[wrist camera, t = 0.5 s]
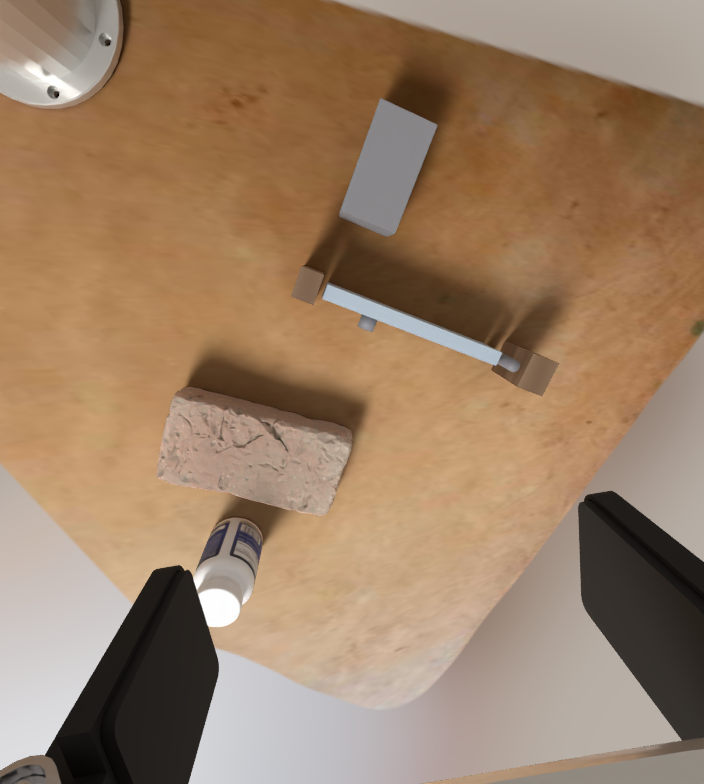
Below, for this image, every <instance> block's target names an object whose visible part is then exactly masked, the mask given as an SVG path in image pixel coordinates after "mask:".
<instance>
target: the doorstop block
mask: <svg viewBox="0 0 704 784" xmlns="http://www.w3.org/2000/svg"><path fill="white" fill-rule="evenodd" d="M436 128H437V124H435V123H433V122H430V121H428V120H426V119H424V118H422V117H420V116H418V115H416V114H413V113H411V112H409V111H407V110H405V109H403V108H401V107H398V106H396V105H394V104H392V103H390V102H388V101H386V100H384V99H381V98H380V101H379V104H378V107H377V109H376V112H375V115H374V118H373V120H372V123H371V126H370V129H369V132H368V134H367V137H366V140H365V143H364V146H363V148H362V151H361V154H360V157H359V160H358V162H357V165H356V168H355V171H354V174H353V176H352V179H351V182H350V185H349V188H348V190H347V193H346V196H345V199H344V202H343V204H342V207H341V210H340V213H339V217H340V218H343V219H345V220H348V221H350V222H352V223H355V224H357V225H360V226H362V227H364V228H367V229H369V230H371V231H374V232H376V233H379V234H381V235H383V236H386V237H388V236H391V235H393V234H395V233H396V230H397V228H398V225H399V223H400V220H401V217H402V215H403V212H404V210H405V207H406V205H407V202H408V199H409V197H410V194H411V192H412V189H413V187H414V184H415V182H416V179H417V176H418V174H419V171H420V169H421V166H422V164H423V161H424V159H425V156H426V153H427V151H428V148H429V146H430V143H431V141H432V138H433V136H434V133H435V130H436Z"/></svg>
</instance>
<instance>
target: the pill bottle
mask: <svg viewBox="0 0 704 784" xmlns="http://www.w3.org/2000/svg"><path fill="white" fill-rule="evenodd" d="M262 544H263V538H262V534H261V531H260V530H259V528H258V527H257V526H256V525H255V524H254V523H253V522H251V521H249V520H247V519H244V518H229V519H226V520H223V521H221V522H220V523H218V524H217V525H216V526H215V527H214V529H213V530H212V532H211V534H210V537H209V539H208V541H207V544H206V547H205V549H204V551H203V554H202V556H201V559H200V562H199V564H198V566H197V569H196V572H195V575H194V578H193V580H194V583H195V586H196V589H197V593H198V596H199V599H200V602H201V606H202V609H203V612H204V615H205V619H206V622H207V625H208V626H211V627H222V626H226V625H228V624H230V623H232V622H233V621H235V620H236V618H237V617H238V615H239V613H240V610H241V607H242V605H243V604H244V603H245V602H246V601H247V600H248V599H249V597H250V596H251V594H252V592H253V588H254V584H255V579H256V574H257V570H258V564H259V559H260V555H261V550H262Z"/></svg>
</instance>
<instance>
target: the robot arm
mask: <svg viewBox="0 0 704 784" xmlns="http://www.w3.org/2000/svg"><path fill="white" fill-rule="evenodd" d="M123 30H124V26H123V14H122V6H121V2H120V0H0V93H2V94H4V95H5V96H7V97H9V98H11V99H13V100H16V101H18V102H21V103H23V104H26V105H29V106H33V107H38V108H43V109H61V108H65V107H70V106H75V105H77V104H79V103H81V102H83V101H85V100H87V99H89V98H90V97H92V96H93V95H94V94H95V93H97V92H98V91H99V90H101V88H102V87H103V86H104V85H105V83H106V82H107V81H108V80H109V78H110V77H111V75H112V73H113V71H114V69H115V67H116V65H117V63H118V59H119V56H120V52H121V48H122V42H123ZM108 42H111V44H110V46H108ZM58 93H59V97H58V98H57V95H58ZM578 513H579V542H580V572H581V596H582V602H583V605H584V607H585V609H586V611H587V613H588V614H589V616H590V617H591V619H592V620H593V621H594V622H595V624H596V625H597V627H598V628H599V629H600V630H601V632H602V633H603V635H604V636H605V637H606V639H607V640H608V641H609V643H610V644H611V645H612V647H613V648H614V649H615V651H616V652H617V653H618V655H619V656H620V658H621V659H622V660H623V662H624V663H625V664H626V666H627V667H628V668H629V670H630V671H631V672H632V674H633V675H634V676H635V678H636V679H637V680H638V682H639V683H640V684H641V686H642V687H643V688H644V690H645V691H646V692H647V694H648V695H649V696H650V698H651V699H652V701H653V702H654V703H655V705H656V706H657V707H658V708H659V710H660V711H661V713H662V714H663V715H664V717H665V718H666V719H667V721H668V722H669V723H670V725H671V726H672V727H673V729H674V730H675V731H676V733H677V734H678V735H679V737H680V738H681V740H682V741H678V742H671V743H664V744H657V745H650V746H644V747H638V748H632V749H626V750H620V751H614V752H608V753H602V754H596V755H590V756H584V757H578V758H571V759H565V760H559V761H553V762H547V763H542V764H535V765H529V766H523V767H517V768H511V769H505V770H500V771H493V772H488V773H482V774H477V775H470V776H464V777H458V778H452V779H446V780H441V781H435V782H429V783H424V784H704V562H703V561H702V560H700V559H699V558H698V557H696V556H695V555H694V554H693V553H691V552H690V551H689V550H688V549H686V548H685V547H684V546H682V545H681V544H680V543H679V542H677V541H676V540H675V539H674V538H672V537H671V536H670V535H669V534H667V533H666V532H665V531H663V530H662V529H661V528H660V527H658V526H657V525H656V524H655V523H653V522H652V521H651V520H650V519H648V518H647V517H646V516H644V515H643V514H642V513H641V512H639V511H638V510H637V509H636V508H634V507H633V506H632V505H630V504H629V503H628V502H627V501H625V500H624V499H623V498H622V497H620V496H619V495H618V494H617V493H615V492H613V491H607V492H601V493H595V494H589V495H587V496H586V497H585V499H584V502H581V503H579V507H578ZM218 672H219V664H218V658H217V655H216V652H215V648H214V645H213V641H212V638H211V635H210V632H209V628H208V625H207V622H206V619H205V615H204V612H203V609H202V606H201V602H200V599H199V596H198V593H197V589H196V586H195V583H194V580H193V576H192V574H191V572H190V571H189V570H186V571H184V569H183V568H182V566H180V565H178V566H172V567H166V568H160V569H156V570H154V571H153V572H152V574H151V576H150V577H149V579H148V581H147V582H146V584H145V586H144V587H143V589H142V591H141V593H140V594H139V596H138V598H137V599H136V601H135V603H134V604H133V606H132V608H131V609H130V611H129V613H128V615H127V616H126V618H125V620H124V621H123V623H122V625H121V626H120V628H119V630H118V632H117V634H116V635H115V637H114V638H113V640H112V642H111V644H110V645H109V647H108V649H107V650H106V652H105V654H104V656H103V657H102V659H101V661H100V662H99V664H98V666H97V667H96V669H95V671H94V672H93V674H92V676H91V677H90V679H89V681H88V683H87V684H86V686H85V688H84V689H83V691H82V693H81V694H80V696H79V698H78V700H77V701H76V703H75V705H74V707H73V708H72V710H71V711H70V713H69V715H68V717H67V718H66V720H65V722H64V724H63V725H62V727H61V728H60V730H59V732H58V734H57V735H56V737H55V739H54V741H53V742H52V744H51V746H50V747H49V749H48V751H47V753H46V754H45V756H44V755H37V756H29V757H27V758H24V759H21V760H18V761H16V762H14V763H12V764H10V765H9V766H7V767H5V768H4V769H2V770H0V784H188V783H189V779H190V776H191V772H192V768H193V765H194V761H195V758H196V754H197V750H198V747H199V743H200V740H201V736H202V732H203V728H204V725H205V722H206V718H207V714H208V710H209V707H210V703H211V700H212V696H213V693H214V689H215V686H216V682H217V678H218Z"/></svg>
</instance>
